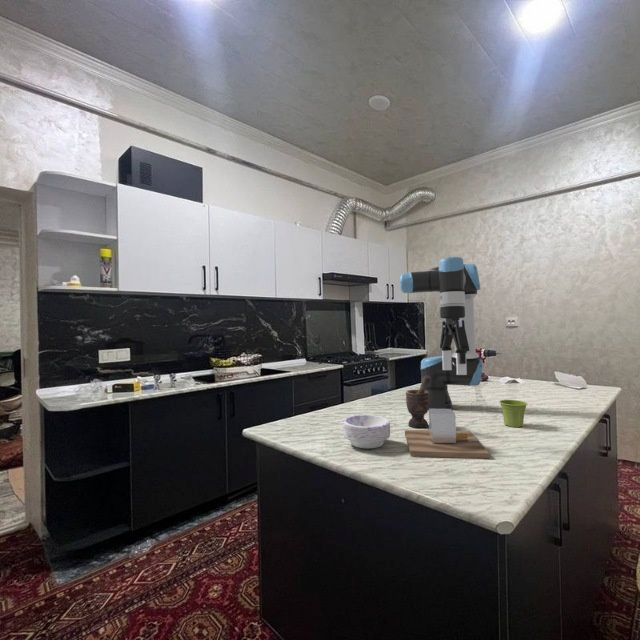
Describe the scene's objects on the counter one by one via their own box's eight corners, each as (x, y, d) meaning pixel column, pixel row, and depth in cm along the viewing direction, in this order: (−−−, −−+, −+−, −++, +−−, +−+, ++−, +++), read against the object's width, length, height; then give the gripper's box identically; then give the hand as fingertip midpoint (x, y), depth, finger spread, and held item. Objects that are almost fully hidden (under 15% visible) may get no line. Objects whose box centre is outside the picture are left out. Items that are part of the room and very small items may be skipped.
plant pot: (526, 423, 140) (526, 400, 140) (529, 430, 132) (528, 405, 132) (499, 421, 144) (498, 399, 144) (500, 427, 136) (499, 403, 136)
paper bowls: (379, 455, 110) (378, 428, 110) (335, 447, 118) (334, 422, 118) (397, 441, 123) (396, 417, 123) (356, 435, 131) (355, 412, 131)
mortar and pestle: (441, 427, 138) (440, 373, 138) (428, 432, 132) (426, 376, 132) (415, 421, 146) (414, 371, 147) (402, 426, 141) (400, 373, 141)
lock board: (404, 434, 130) (404, 429, 130) (470, 435, 127) (469, 430, 127) (410, 456, 109) (410, 450, 109) (489, 458, 105) (489, 452, 105)
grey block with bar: (432, 442, 115) (431, 413, 115) (429, 435, 122) (428, 408, 122) (469, 443, 113) (468, 414, 113) (464, 436, 120) (463, 408, 120)
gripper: (429, 308, 131) (431, 368, 130) (453, 303, 106) (455, 377, 105) (451, 308, 131) (452, 368, 130) (480, 302, 106) (482, 376, 105)
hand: (454, 372), depth 118 cm, fingers open, 13 cm apart
